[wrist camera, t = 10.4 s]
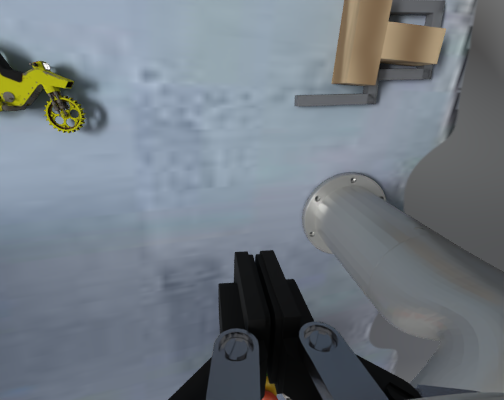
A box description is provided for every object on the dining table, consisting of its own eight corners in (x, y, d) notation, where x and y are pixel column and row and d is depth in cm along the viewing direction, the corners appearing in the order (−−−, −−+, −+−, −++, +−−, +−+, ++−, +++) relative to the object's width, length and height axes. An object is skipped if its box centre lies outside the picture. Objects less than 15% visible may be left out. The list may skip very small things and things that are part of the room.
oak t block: (331, 83, 35) (346, 82, 32) (344, -3, 32) (363, -15, 29) (407, 89, 37) (429, 89, 34) (427, 8, 34) (454, -2, 30)
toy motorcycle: (-64, 110, 27) (-72, 28, 25) (-33, 108, 31) (-37, 36, 28) (76, 138, 30) (80, 66, 28) (90, 133, 33) (94, 69, 31)
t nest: (294, 105, 36) (297, 106, 35) (299, -30, 31) (302, -35, 30) (419, 101, 38) (426, 102, 37) (442, -25, 33) (451, -29, 32)
